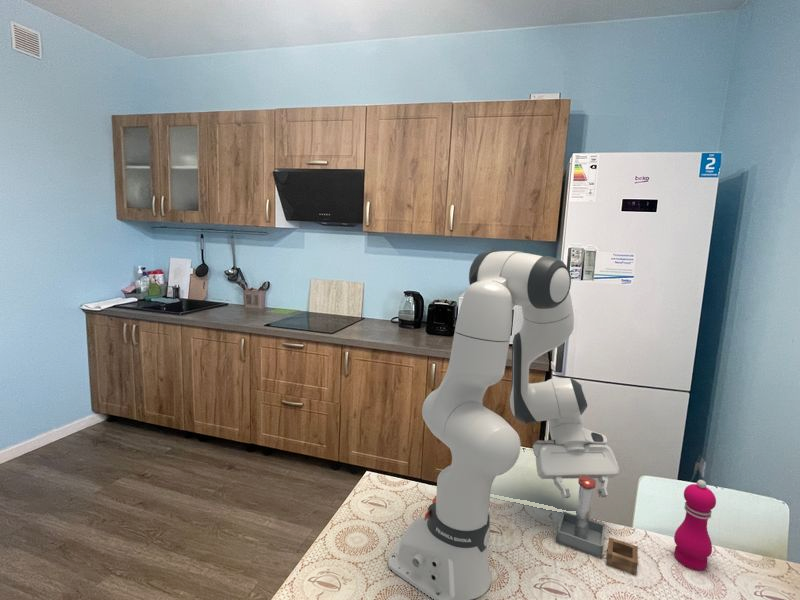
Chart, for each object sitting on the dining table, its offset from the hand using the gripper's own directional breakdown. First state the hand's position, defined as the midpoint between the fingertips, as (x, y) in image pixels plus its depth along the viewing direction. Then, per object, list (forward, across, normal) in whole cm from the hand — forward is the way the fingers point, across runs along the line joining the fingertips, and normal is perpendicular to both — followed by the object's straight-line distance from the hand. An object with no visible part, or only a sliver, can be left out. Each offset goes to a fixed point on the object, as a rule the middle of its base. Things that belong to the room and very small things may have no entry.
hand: (585, 497), depth 103 cm
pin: (+7, 0, +7) cm, 10 cm away
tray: (+8, 0, +8) cm, 11 cm away
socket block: (+13, +6, +2) cm, 15 cm away
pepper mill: (+14, +22, +2) cm, 26 cm away
